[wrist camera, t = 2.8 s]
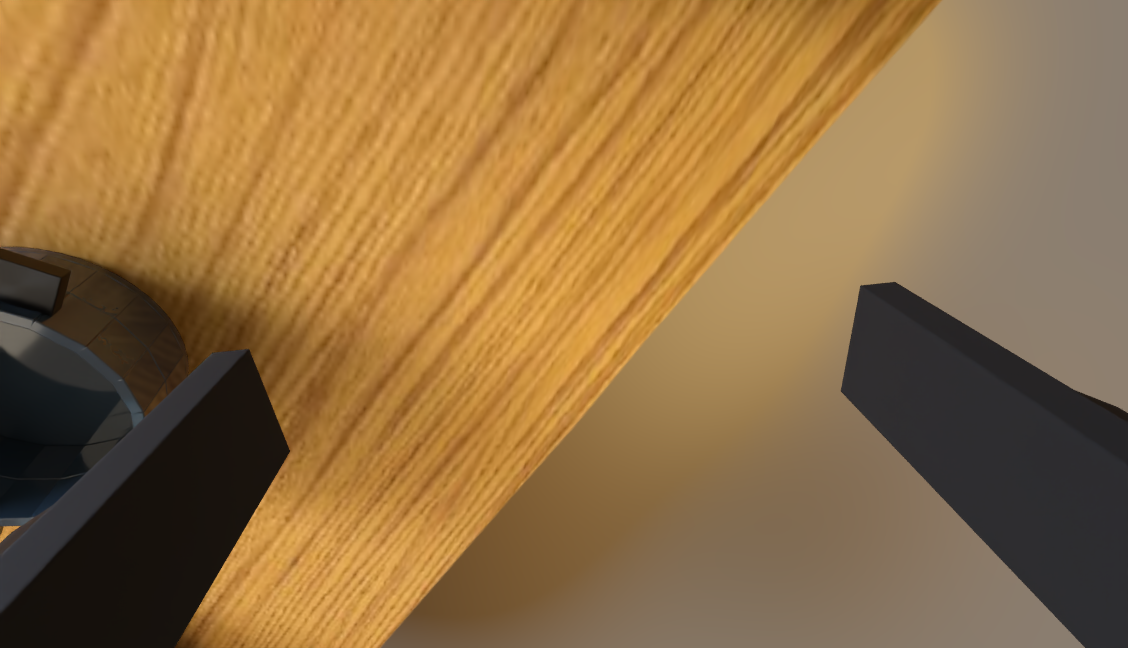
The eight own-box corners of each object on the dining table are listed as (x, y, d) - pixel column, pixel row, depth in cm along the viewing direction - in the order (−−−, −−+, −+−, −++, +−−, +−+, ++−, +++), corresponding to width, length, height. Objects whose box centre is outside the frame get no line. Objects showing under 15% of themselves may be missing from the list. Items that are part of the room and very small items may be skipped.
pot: (-121, 411, 30) (-238, 496, 25) (-90, 202, 26) (-221, 248, 21) (156, 466, 36) (111, 545, 31) (217, 303, 32) (178, 360, 27)
